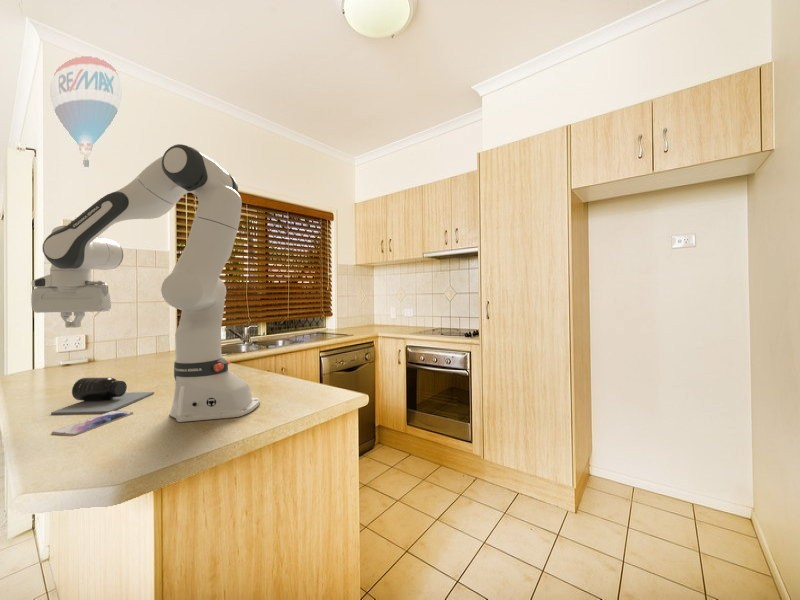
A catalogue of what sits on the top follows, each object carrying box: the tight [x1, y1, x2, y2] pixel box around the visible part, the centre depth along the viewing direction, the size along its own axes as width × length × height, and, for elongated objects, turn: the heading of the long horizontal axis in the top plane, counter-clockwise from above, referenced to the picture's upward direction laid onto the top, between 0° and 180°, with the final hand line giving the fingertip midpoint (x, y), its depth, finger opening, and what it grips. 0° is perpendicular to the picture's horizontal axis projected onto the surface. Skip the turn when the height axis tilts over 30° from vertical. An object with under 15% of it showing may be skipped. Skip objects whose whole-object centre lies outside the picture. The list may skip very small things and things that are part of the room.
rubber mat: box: [50, 391, 155, 416], centre depth 102 cm, size 16×18×1 cm
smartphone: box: [51, 410, 134, 437], centre depth 87 cm, size 7×1×15 cm
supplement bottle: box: [71, 377, 128, 402], centre depth 104 cm, size 7×7×12 cm
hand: (73, 327), depth 102 cm, fingers closed
